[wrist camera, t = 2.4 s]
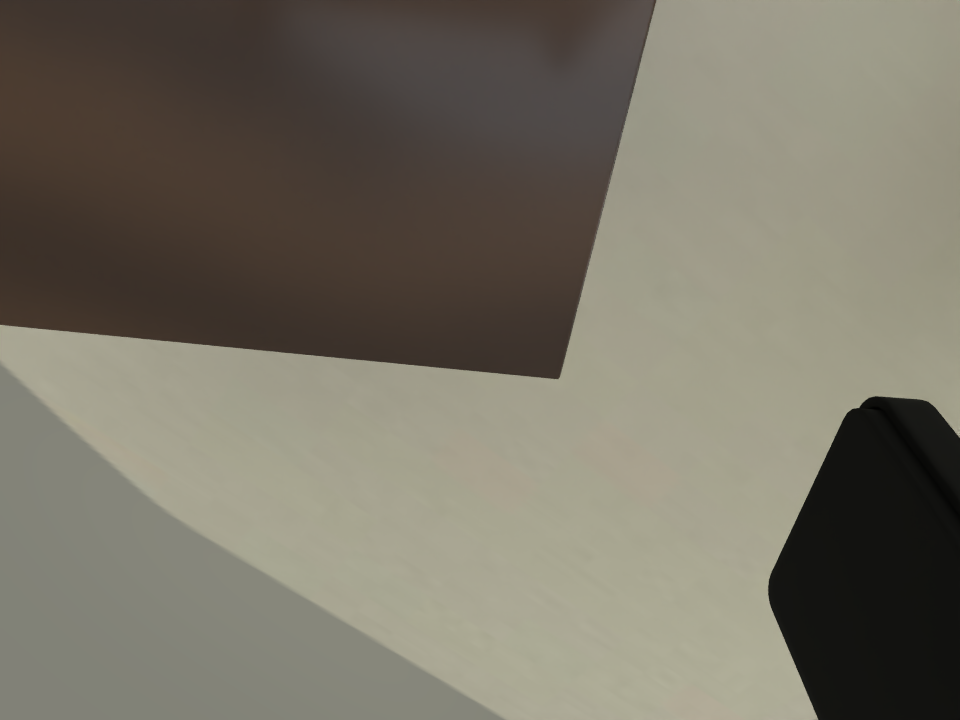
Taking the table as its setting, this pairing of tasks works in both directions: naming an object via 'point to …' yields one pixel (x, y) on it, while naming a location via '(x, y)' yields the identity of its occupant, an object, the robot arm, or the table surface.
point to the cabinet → (312, 172)
